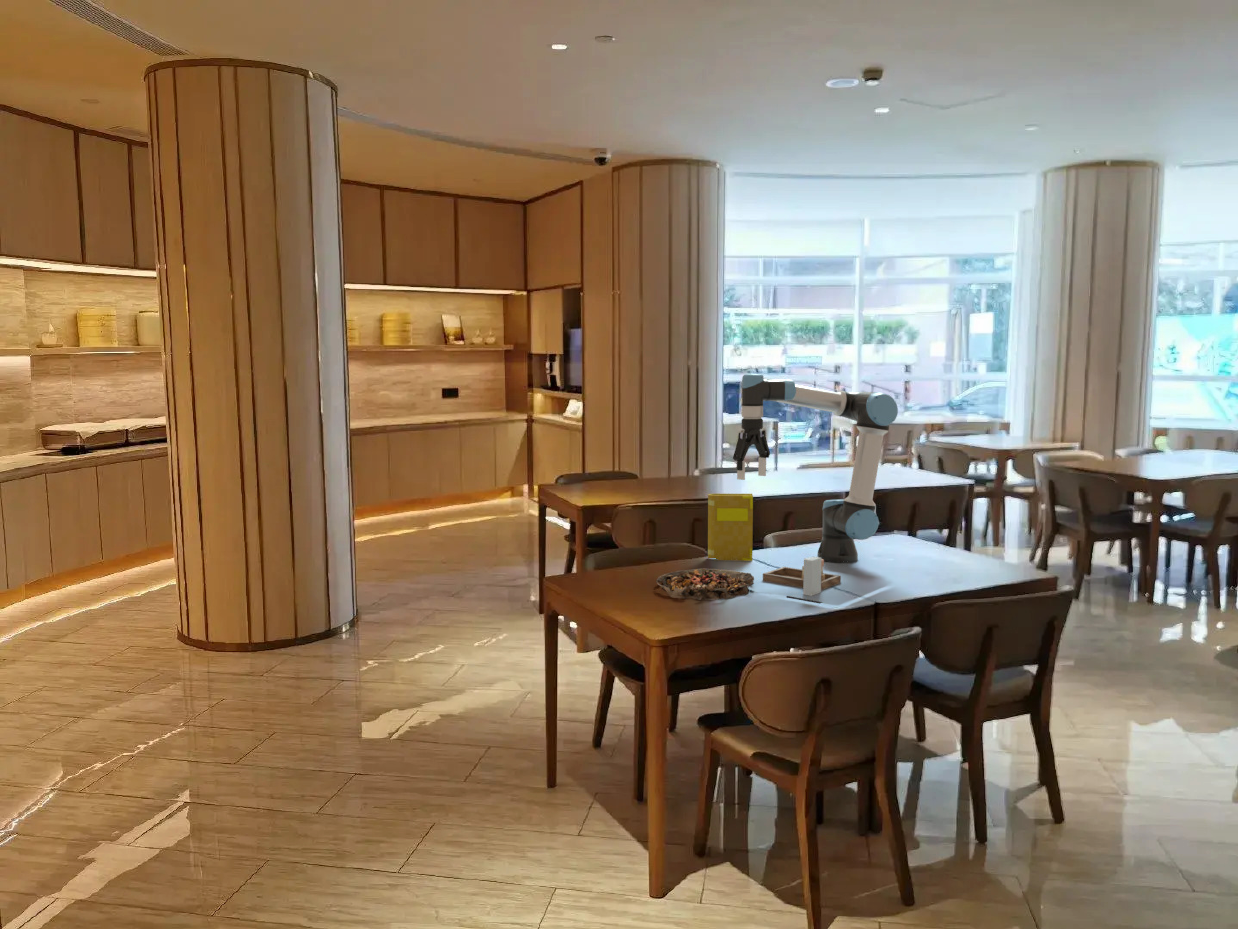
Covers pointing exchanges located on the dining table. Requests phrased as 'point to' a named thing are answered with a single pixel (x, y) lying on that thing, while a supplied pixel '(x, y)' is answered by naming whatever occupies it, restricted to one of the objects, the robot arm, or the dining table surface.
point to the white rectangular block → (812, 576)
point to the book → (730, 526)
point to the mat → (804, 599)
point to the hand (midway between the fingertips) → (751, 477)
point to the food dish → (706, 584)
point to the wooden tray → (797, 577)
